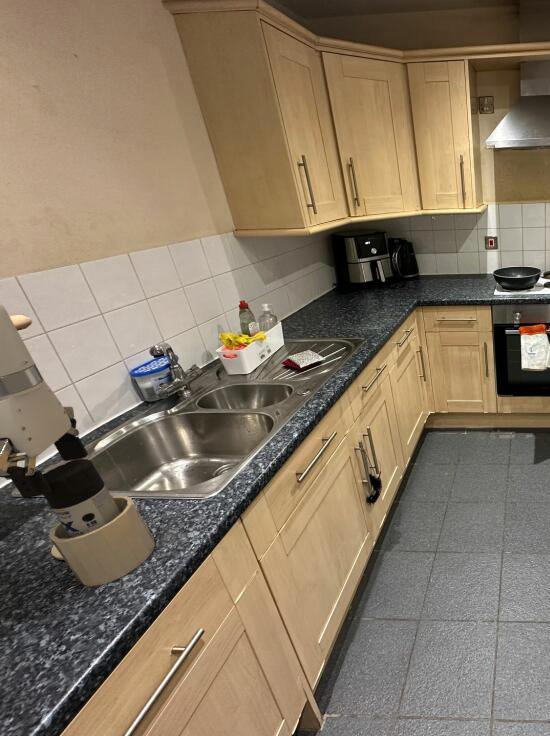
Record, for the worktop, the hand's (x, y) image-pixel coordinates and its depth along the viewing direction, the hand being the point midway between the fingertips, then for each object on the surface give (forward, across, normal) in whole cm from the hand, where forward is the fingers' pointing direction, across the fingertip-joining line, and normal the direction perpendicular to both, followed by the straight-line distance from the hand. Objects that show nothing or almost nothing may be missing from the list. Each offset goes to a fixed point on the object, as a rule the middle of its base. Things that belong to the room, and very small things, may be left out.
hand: (58, 475), depth 67 cm
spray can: (+19, +1, +2) cm, 19 cm away
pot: (+20, +1, +2) cm, 20 cm away
